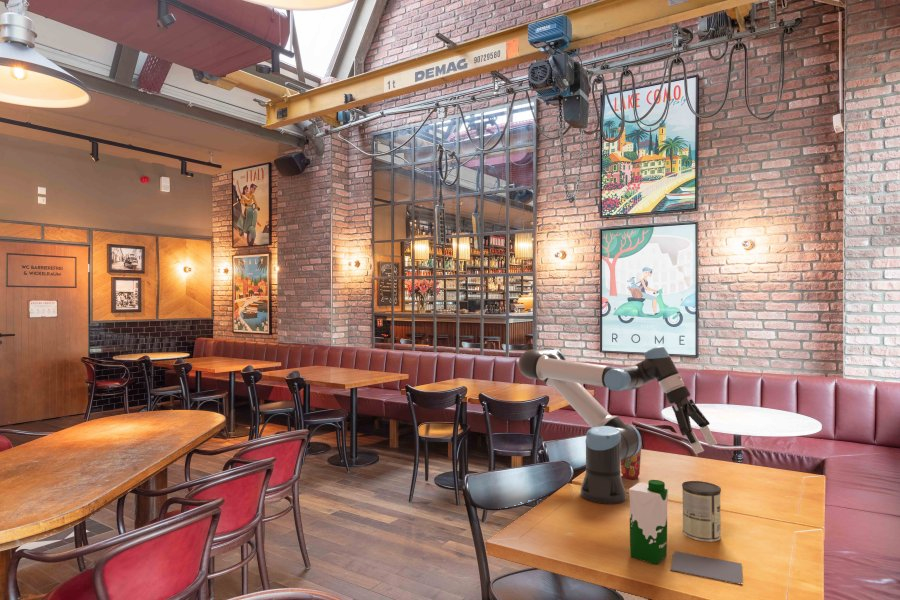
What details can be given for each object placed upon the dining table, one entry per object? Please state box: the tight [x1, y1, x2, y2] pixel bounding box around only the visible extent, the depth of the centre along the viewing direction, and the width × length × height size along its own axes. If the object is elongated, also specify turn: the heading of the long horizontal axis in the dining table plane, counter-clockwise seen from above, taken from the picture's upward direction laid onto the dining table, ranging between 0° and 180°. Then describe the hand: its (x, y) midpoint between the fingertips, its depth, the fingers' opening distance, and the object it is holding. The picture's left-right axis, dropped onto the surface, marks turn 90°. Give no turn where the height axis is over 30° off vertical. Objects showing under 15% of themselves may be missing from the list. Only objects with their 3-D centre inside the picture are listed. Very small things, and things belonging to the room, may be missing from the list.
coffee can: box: [681, 480, 722, 543], centre depth 161 cm, size 10×10×14 cm
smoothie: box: [620, 441, 643, 480], centre depth 216 cm, size 8×8×20 cm
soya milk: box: [628, 479, 669, 566], centre depth 147 cm, size 9×9×20 cm
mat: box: [670, 550, 744, 584], centre depth 140 cm, size 16×12×1 cm
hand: (706, 448), depth 183 cm, fingers open, 13 cm apart
